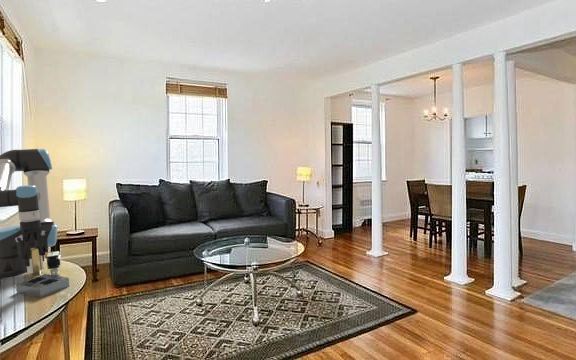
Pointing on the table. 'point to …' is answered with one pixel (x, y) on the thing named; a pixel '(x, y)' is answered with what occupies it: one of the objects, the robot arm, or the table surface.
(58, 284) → the jig
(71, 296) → the table surface
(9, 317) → the table surface
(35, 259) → the tan rectangular block
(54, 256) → the pneumatic valve
